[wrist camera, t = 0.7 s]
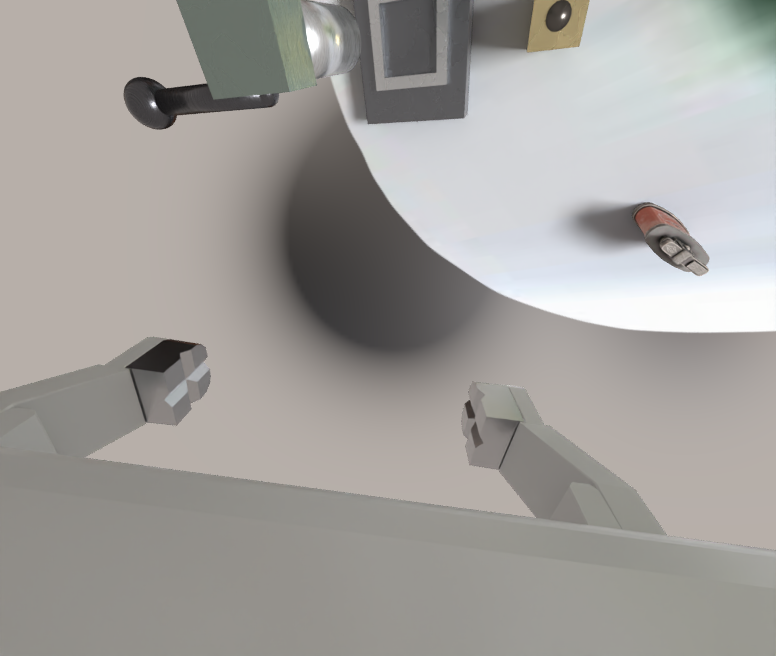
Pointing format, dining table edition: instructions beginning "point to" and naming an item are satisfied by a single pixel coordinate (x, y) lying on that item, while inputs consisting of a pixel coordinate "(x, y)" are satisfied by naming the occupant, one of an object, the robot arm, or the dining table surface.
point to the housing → (556, 24)
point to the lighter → (670, 239)
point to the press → (319, 57)
